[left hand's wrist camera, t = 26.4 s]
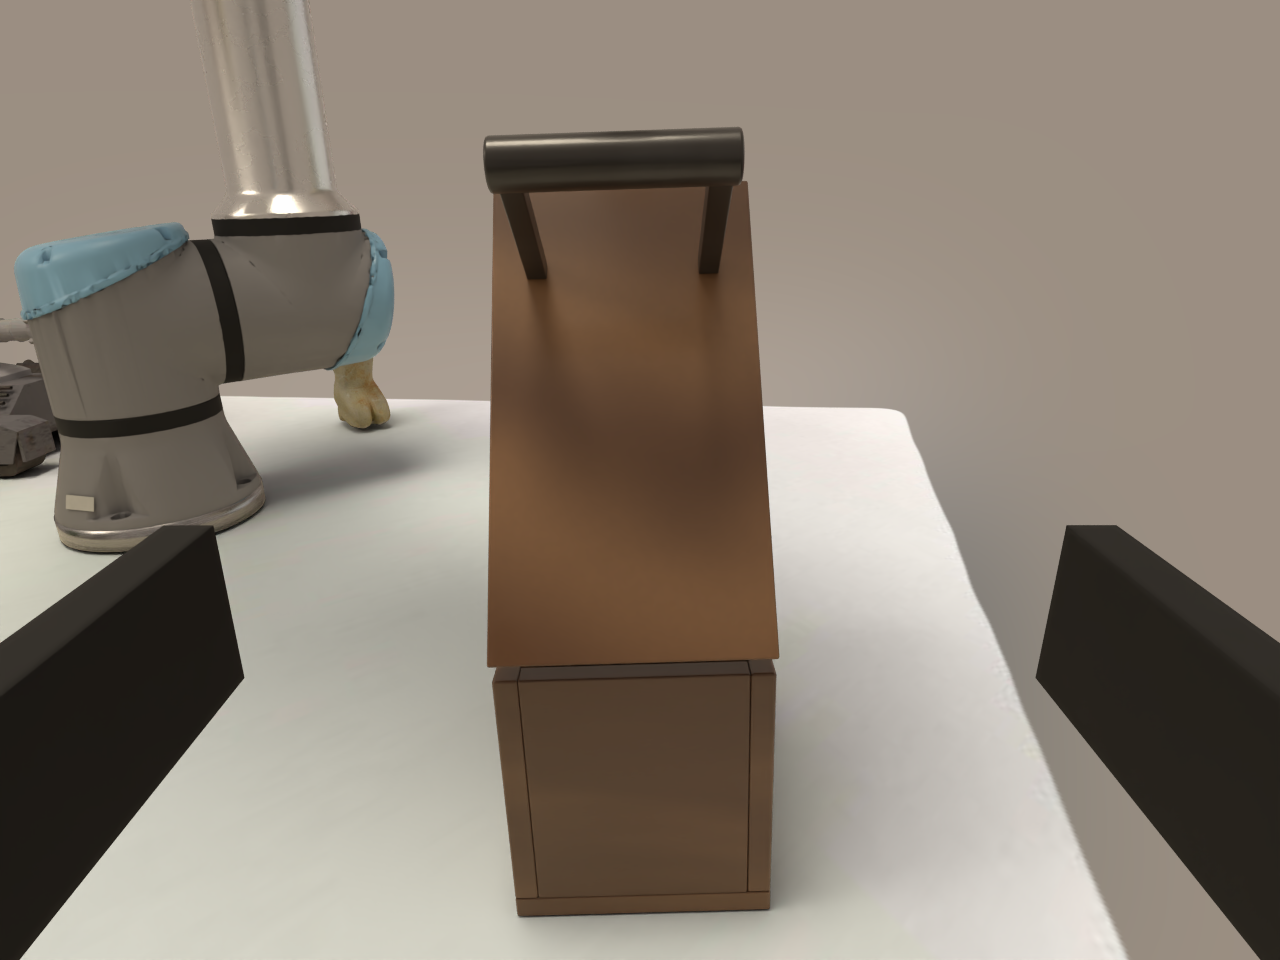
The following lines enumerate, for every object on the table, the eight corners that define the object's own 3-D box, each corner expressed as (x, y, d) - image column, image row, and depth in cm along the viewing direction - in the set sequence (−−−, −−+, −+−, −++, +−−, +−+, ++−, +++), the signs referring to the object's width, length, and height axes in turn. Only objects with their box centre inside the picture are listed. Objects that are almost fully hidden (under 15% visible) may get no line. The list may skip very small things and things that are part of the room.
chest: (557, 671, 44) (544, 503, 41) (724, 666, 44) (725, 497, 41) (517, 917, 29) (491, 682, 26) (769, 909, 29) (776, 673, 26)
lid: (498, 204, 30) (445, 45, 22) (744, 195, 30) (776, 33, 22) (492, 667, 26) (426, 668, 18) (774, 659, 26) (826, 656, 18)
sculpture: (350, 435, 89) (328, 298, 84) (328, 422, 95) (306, 293, 90) (400, 424, 93) (381, 293, 88) (375, 413, 98) (357, 288, 93)
